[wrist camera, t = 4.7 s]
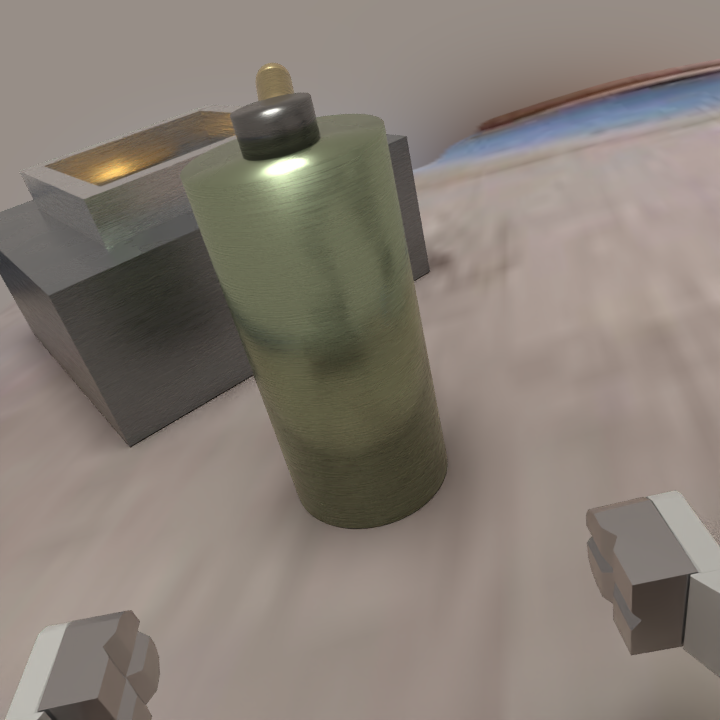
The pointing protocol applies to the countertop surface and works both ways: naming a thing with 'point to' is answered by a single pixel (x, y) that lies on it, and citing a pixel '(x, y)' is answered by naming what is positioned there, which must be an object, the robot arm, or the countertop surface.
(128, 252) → the gearbox housing
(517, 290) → the countertop surface
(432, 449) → the spout can
